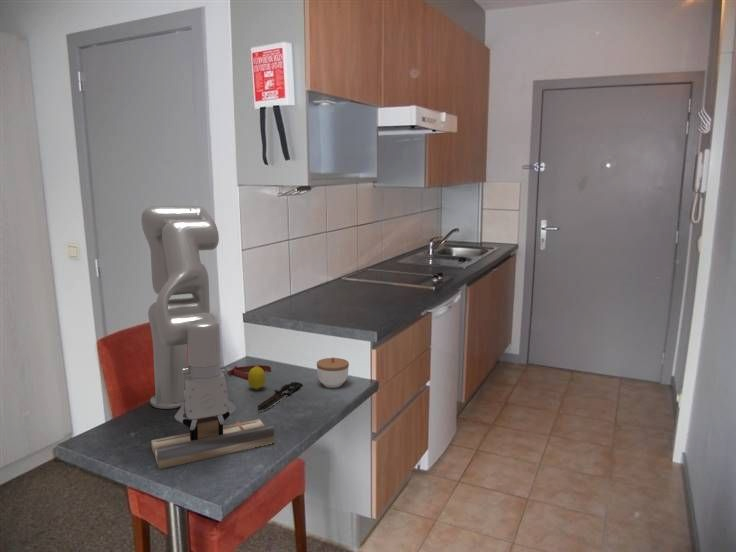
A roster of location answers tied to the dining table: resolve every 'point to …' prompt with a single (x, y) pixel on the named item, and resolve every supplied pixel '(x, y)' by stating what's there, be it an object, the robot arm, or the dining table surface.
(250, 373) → the lemon
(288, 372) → the dining table surface
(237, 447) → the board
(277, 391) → the knife
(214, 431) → the brown block with peg
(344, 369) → the lidded jar
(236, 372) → the pliers
